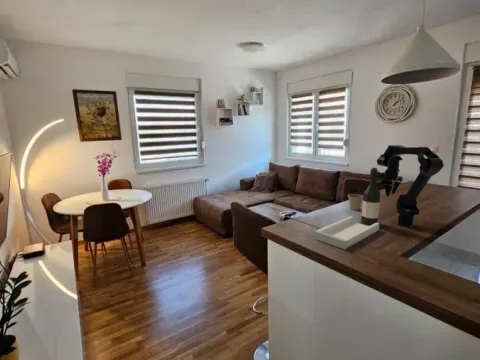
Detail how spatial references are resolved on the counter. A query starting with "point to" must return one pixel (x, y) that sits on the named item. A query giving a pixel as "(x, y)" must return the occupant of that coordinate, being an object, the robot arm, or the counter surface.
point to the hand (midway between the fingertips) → (390, 195)
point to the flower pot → (355, 201)
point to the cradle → (345, 233)
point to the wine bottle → (371, 201)
